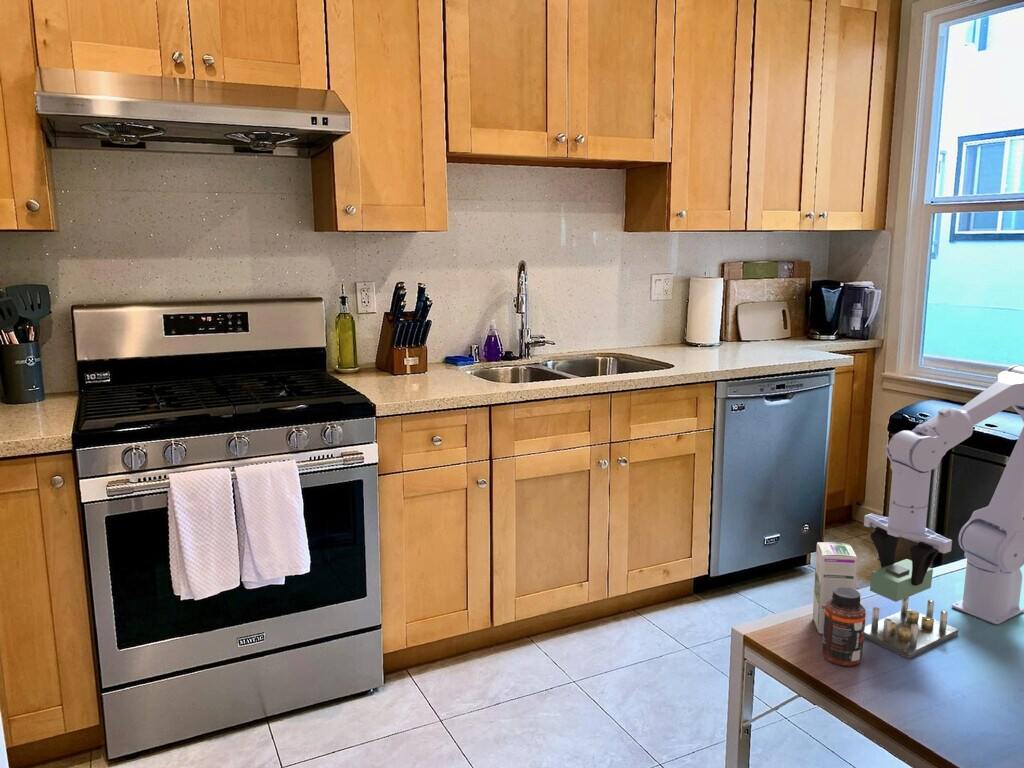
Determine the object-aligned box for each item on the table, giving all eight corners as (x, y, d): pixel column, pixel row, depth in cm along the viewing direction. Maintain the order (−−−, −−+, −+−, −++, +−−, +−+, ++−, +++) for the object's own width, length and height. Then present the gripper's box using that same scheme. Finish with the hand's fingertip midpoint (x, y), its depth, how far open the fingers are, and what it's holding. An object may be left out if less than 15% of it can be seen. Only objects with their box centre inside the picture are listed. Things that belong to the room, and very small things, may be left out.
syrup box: (853, 637, 130) (860, 556, 127) (816, 634, 131) (822, 553, 128) (846, 621, 135) (852, 542, 132) (810, 618, 136) (815, 540, 134)
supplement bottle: (867, 668, 120) (873, 601, 118) (828, 667, 121) (833, 600, 119) (854, 648, 126) (859, 584, 124) (817, 647, 127) (821, 583, 125)
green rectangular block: (904, 577, 138) (907, 555, 137) (930, 587, 134) (933, 565, 133) (869, 590, 133) (872, 568, 132) (895, 602, 129) (898, 579, 128)
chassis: (906, 613, 138) (909, 589, 137) (957, 634, 130) (960, 610, 129) (858, 634, 131) (859, 610, 130) (908, 659, 123) (911, 633, 122)
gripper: (855, 494, 134) (849, 567, 137) (936, 520, 122) (928, 600, 124) (880, 487, 138) (874, 559, 140) (962, 511, 125) (954, 589, 128)
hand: (901, 577), depth 133 cm, fingers closed on green rectangular block, 5 cm apart
